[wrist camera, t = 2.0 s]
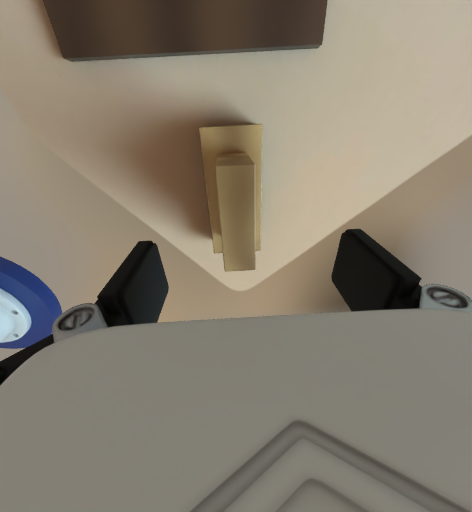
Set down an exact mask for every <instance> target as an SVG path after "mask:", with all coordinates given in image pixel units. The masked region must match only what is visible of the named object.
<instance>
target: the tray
mask: <svg viewBox="0 0 472 512" xmlns="http://www.w3.org/2000/svg"><path fill="white" fill-rule="evenodd" d="M43 2H44V5H45V7H46V10H47V13H48V16H49V18H50V21H51V24H52V27H53V30H54V32H55V35H56V38H57V41H58V44H59V46H60V49H61V52H62V55H63V57H64V59H67V60H69V61H72V62H73V61H91V60H109V59H128V58H146V57H165V56H183V55H201V54H220V53H238V52H256V51H275V50H293V49H311V48H318V47H319V46H321V45H322V41H323V33H324V24H325V16H326V8H327V0H43Z"/></svg>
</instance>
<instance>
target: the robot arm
mask: <svg viewBox="0 0 472 512" xmlns="http://www.w3.org/2000/svg"><path fill="white" fill-rule="evenodd" d="M420 280H421V278H420V277H419V276H418V275H417V274H415V273H414V272H413V271H412V270H410V269H409V268H408V267H407V266H406V265H404V264H403V263H402V262H401V261H399V260H398V259H397V258H396V257H394V256H393V255H392V254H391V253H389V252H388V251H387V250H386V249H385V248H383V247H382V246H381V245H380V244H378V243H377V242H376V241H375V240H373V239H372V238H371V237H370V236H368V235H367V234H366V233H365V232H364V231H362V230H361V229H348V230H346V231H345V233H342V235H341V239H340V243H339V248H338V252H337V256H336V260H335V264H334V268H333V272H332V282H333V283H334V285H335V286H336V288H337V289H338V291H339V293H340V294H341V296H342V297H343V299H344V300H345V302H346V303H347V305H348V306H349V308H350V309H351V311H352V312H334V313H317V314H299V315H280V316H263V317H246V318H228V319H211V320H193V321H178V322H162V323H157V321H158V318H159V315H160V313H161V310H162V307H163V304H164V301H165V299H166V296H167V293H168V282H167V279H166V276H165V272H164V268H163V265H162V261H161V258H160V254H159V251H158V247H157V245H156V243H153V242H152V241H139V242H138V243H137V244H136V246H135V247H134V248H133V250H132V251H131V253H130V254H129V255H128V256H127V258H126V259H125V260H124V262H123V263H122V264H121V266H120V267H119V268H118V270H117V271H116V272H115V274H114V275H113V276H112V278H111V279H110V280H109V282H108V283H107V284H106V286H105V287H104V288H103V290H102V291H101V292H100V293H99V295H98V296H97V298H98V300H97V301H96V302H95V304H92V303H86V304H81V305H77V306H75V307H72V308H70V309H69V310H67V311H65V312H64V313H62V314H61V315H60V316H59V317H58V318H57V319H56V320H55V322H54V323H53V326H52V332H53V334H51V335H49V336H48V337H46V338H44V339H42V340H40V341H38V342H36V343H34V344H32V345H31V346H29V347H27V348H25V349H23V350H21V351H19V352H17V353H15V354H14V355H12V356H10V357H8V358H6V359H4V360H2V361H0V512H472V300H471V299H470V298H469V297H468V296H467V295H465V294H464V293H462V292H460V291H458V290H456V289H454V288H451V287H448V286H444V285H440V284H426V285H424V286H423V287H421V286H420V285H419V282H420ZM31 323H32V322H31V317H30V314H29V312H28V310H27V309H26V308H25V306H24V305H23V304H22V303H21V302H20V301H19V300H18V299H16V298H15V297H14V296H12V295H11V294H10V293H8V292H6V291H5V290H3V289H1V288H0V343H3V342H11V341H14V340H17V339H19V338H21V337H22V336H23V335H24V334H25V333H26V332H27V331H28V330H29V329H30V327H31Z"/></svg>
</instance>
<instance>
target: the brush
mask: <svg viewBox="0 0 472 512" xmlns="http://www.w3.org/2000/svg"><path fill="white" fill-rule="evenodd" d="M199 133H200V142H201V150H202V158H203V166H204V174H205V183H206V191H207V199H208V207H209V215H210V224H211V232H212V240H213V248H214V253H223V259H224V269H225V272H227V271H243V270H255V251H260V250H261V192H262V124H247V125H230V126H213V127H200V128H199Z"/></svg>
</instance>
